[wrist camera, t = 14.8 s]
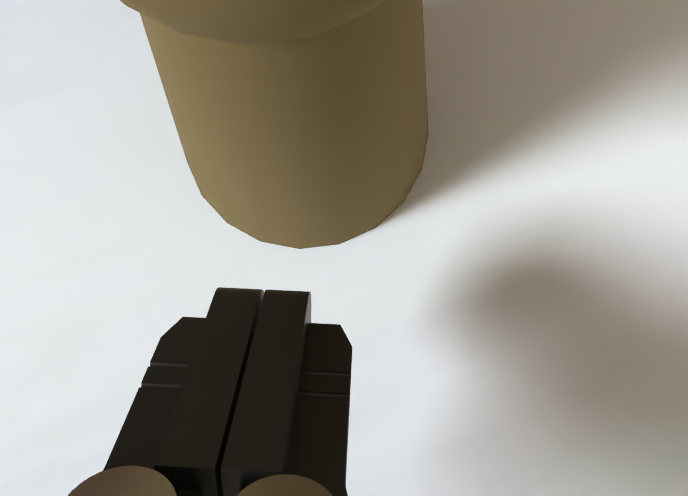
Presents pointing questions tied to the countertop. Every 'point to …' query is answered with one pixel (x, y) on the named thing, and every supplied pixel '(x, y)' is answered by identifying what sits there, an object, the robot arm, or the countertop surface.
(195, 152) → the olive pawn figure
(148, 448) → the robot arm
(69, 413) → the countertop surface
